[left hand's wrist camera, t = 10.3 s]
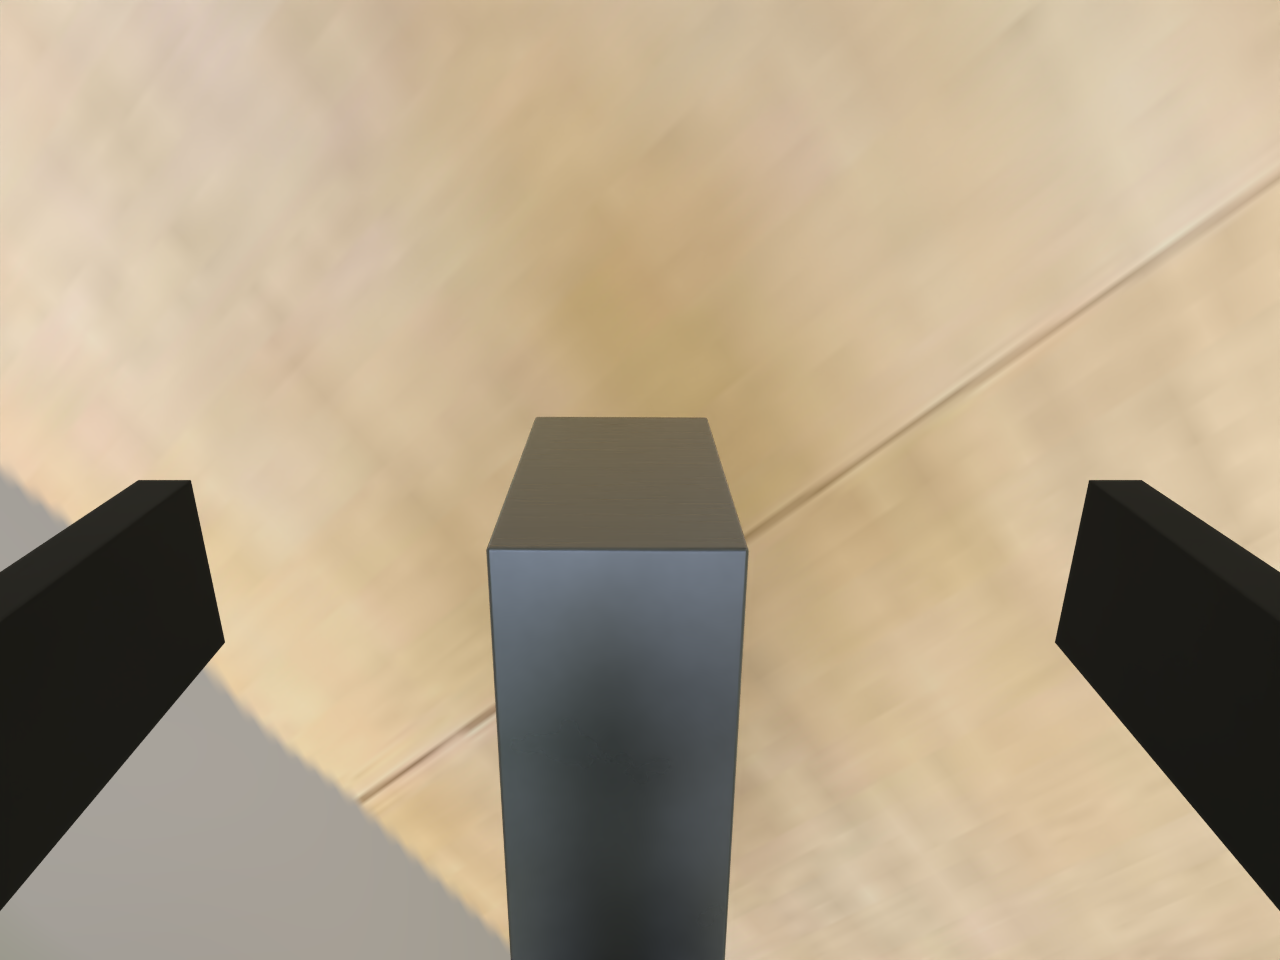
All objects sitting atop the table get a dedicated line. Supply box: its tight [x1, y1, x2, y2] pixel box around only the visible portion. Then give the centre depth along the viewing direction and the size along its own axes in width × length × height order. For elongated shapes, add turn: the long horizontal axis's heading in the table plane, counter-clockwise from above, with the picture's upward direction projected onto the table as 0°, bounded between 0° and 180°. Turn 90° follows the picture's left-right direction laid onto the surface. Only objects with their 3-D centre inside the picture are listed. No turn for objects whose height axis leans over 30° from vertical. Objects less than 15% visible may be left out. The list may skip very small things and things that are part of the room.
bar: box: [486, 417, 749, 960], centre depth 23 cm, size 27×4×8 cm, turn 0°
